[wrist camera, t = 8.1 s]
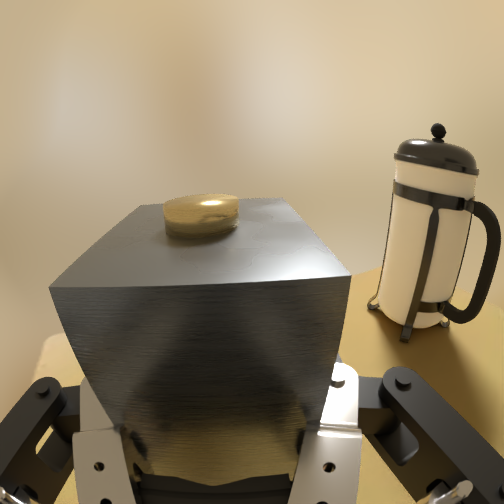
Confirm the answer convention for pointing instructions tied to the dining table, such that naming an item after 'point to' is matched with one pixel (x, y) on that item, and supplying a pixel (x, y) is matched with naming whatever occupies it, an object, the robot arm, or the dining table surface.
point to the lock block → (208, 332)
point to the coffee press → (433, 235)
